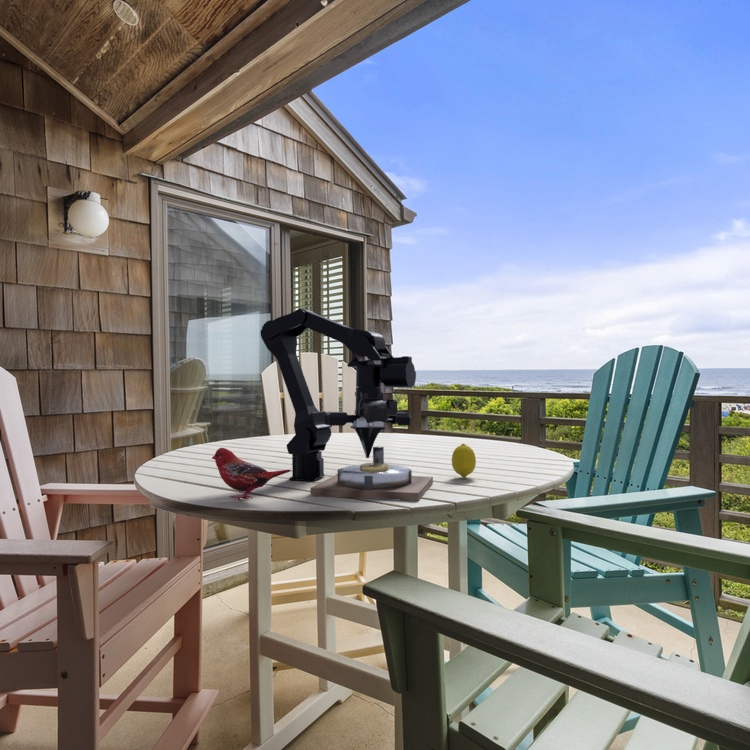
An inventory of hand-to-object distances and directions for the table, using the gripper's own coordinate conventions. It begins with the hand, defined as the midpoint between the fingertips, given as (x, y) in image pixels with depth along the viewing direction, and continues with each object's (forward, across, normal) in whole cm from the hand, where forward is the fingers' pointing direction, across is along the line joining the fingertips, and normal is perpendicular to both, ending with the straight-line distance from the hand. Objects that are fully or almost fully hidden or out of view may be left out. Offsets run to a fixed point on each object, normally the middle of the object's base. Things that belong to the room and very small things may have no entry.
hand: (367, 457), depth 113 cm
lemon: (+5, +23, -1) cm, 24 cm away
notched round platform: (+4, 0, -6) cm, 7 cm away
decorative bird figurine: (+7, -25, -7) cm, 27 cm away
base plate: (+6, 0, -6) cm, 8 cm away
